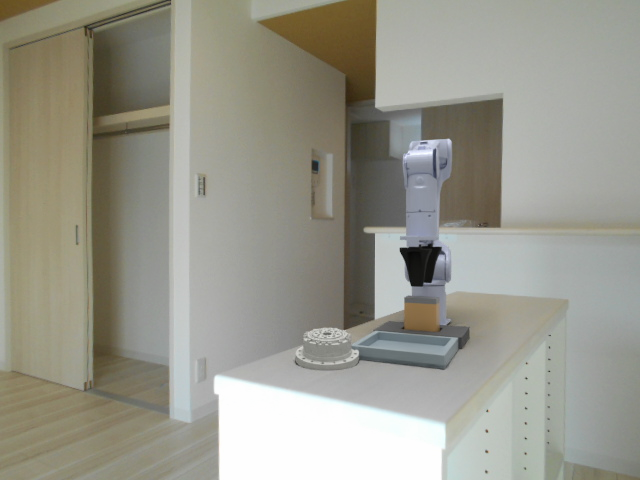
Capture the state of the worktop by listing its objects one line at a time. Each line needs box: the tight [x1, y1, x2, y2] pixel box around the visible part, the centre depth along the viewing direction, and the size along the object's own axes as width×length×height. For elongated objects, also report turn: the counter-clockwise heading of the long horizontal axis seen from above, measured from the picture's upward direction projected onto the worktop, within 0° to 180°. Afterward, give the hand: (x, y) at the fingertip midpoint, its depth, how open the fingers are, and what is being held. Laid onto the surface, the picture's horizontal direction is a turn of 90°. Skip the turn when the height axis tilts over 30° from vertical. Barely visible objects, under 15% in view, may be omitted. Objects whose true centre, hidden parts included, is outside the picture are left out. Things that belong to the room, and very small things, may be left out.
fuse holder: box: [372, 320, 471, 350], centre depth 87 cm, size 10×16×2 cm, turn 65°
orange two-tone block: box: [403, 295, 440, 332], centre depth 87 cm, size 3×6×8 cm, turn 65°
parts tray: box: [351, 331, 459, 370], centre depth 76 cm, size 13×15×2 cm
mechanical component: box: [295, 327, 360, 371], centre depth 72 cm, size 10×4×10 cm
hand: (421, 284), depth 87 cm, fingers open, 7 cm apart
